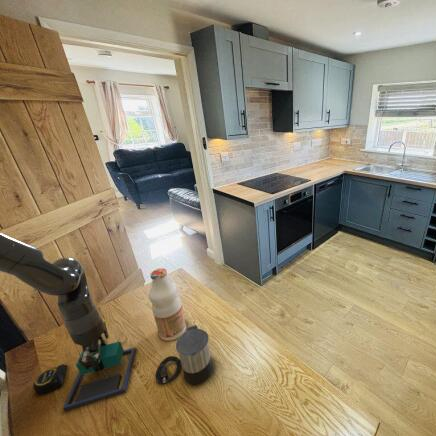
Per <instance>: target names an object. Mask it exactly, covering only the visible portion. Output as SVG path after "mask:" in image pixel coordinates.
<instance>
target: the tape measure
mask: <svg viewBox="0 0 436 436" xmlns="http://www.w3.org/2000/svg"><path fill="white" fill-rule="evenodd" d="M67 368H69V367H68V364H64V363H63V364H59V365H58V366H55V367H51V368H48V369H46V370H44V371H43V372H41V373H40V374H38V376H36V377H35V380H33V384H32V388H33V390H34V392H35V393H37V394H39V395H43V394H44V395H45V394H48V393H50V392H52V391H54V390H56V389H59V388H60V387H62V385H63V383H64V377H65V375H66V371H67Z"/></svg>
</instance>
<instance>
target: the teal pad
mask: <svg viewBox="0 0 436 436" xmlns="http://www.w3.org/2000/svg"><path fill="white" fill-rule="evenodd" d="M100 348H101V354H100V359H101V361H102V363H103V365H104V369H108V368H112V367H116V366H119V365H121V362H122V359H123V357H124V355H123V352H124V350H125V349H124V348H123V345H122V343H121V340H118V341H115V342H111V343H107V345H103V346H100ZM96 352H97V351H96ZM96 352H93V353H96ZM90 354H92V353H90ZM83 355H84V352H83V350H82V351H81V353H80V355H79V358H81V357H83ZM93 358H94V359H95V360H96V357H93ZM75 366H76V368H77V371H78V373H79V372H80V374H81V375H83V376H85V375H87V374H91V373H96V372H95V370H94V369H93V368H91V369H88V370H86V369H85V368H84V367H83V366H82V365H81V364H80V363H79V359H78V360H77V362H76V364H75Z"/></svg>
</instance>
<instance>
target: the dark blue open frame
mask: <svg viewBox="0 0 436 436" xmlns="http://www.w3.org/2000/svg"><path fill="white" fill-rule="evenodd" d="M123 350H124V352H123V356H128V355H129V360H128V363H127V367H126V371H125V374H124V379H123V383H122V386H121V387H119V388H118V389H116V390H113V391H110V392H107V393H103V394H100V395H97V396H94V397H91V398H87V399H84V400H81V401H78V402H75V401H74V402H73V400H74V398H75V397H76V396H75V395H76V393H77V391H78V388H79V386H80V383H81V381H82V379H83V376H84V375H81V374H80V372H79V371H78V374H77V376H76V379H75V381H74V382H73V385H72V388H71V390H70V392H69V394H68V396H67V399H66V401H65V403H64V406H63V408H62V409H63V411H64V412H68V411H71V410H73V409H77V408H80V407H83V406H86V405H89V404H93V403H96V402H99V401H102V400H106V399H108V398H111V397H115V396H118V395H121V394H124V393H127V389H128V384H129V380H130V376H131V371H132V368H133V364H134V359H135V357H136V356H135V354H136V351H137V349H136V347H132V348H128V349H123Z"/></svg>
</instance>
